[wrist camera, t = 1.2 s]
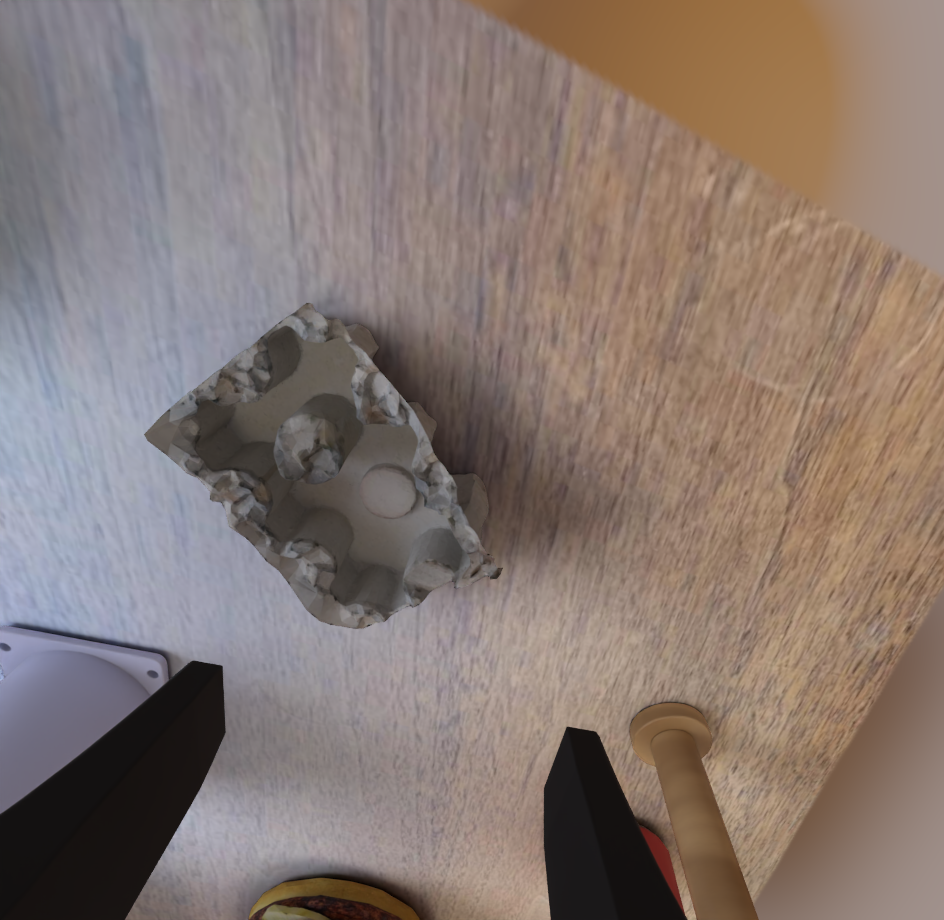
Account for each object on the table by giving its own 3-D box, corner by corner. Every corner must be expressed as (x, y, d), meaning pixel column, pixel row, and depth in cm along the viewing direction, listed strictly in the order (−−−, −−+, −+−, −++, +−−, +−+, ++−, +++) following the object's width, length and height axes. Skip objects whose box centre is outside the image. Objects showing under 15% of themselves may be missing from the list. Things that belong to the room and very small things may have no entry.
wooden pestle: (690, 759, 26) (813, 1124, 15) (619, 746, 26) (694, 1104, 15) (718, 709, 24) (877, 1078, 14) (643, 695, 24) (744, 1055, 14)
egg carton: (515, 519, 21) (517, 587, 17) (364, 593, 23) (336, 667, 19) (352, 277, 17) (309, 294, 13) (190, 390, 19) (114, 432, 15)
